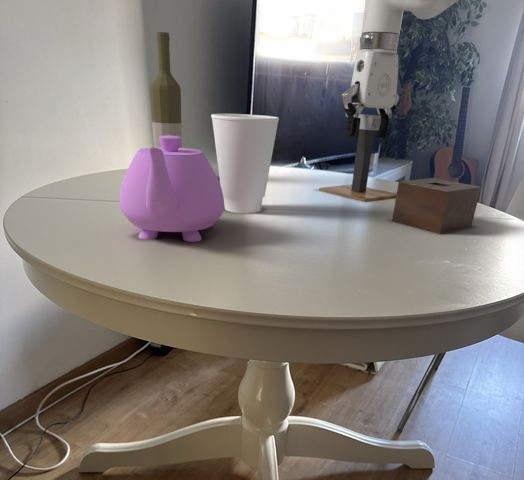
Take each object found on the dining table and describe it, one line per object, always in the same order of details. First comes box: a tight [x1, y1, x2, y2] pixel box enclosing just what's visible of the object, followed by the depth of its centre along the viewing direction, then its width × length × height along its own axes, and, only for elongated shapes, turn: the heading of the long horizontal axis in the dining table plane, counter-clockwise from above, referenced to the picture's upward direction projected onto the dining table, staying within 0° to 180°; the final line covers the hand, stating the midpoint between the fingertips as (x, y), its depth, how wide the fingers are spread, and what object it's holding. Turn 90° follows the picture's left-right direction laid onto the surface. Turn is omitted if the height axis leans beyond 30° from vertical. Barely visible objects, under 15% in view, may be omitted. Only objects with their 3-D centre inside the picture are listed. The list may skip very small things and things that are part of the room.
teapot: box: [119, 135, 225, 242], centre depth 70 cm, size 22×16×14 cm
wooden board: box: [318, 184, 397, 203], centre depth 111 cm, size 12×14×1 cm
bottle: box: [149, 31, 183, 148], centre depth 110 cm, size 7×7×30 cm
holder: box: [391, 177, 482, 235], centre depth 86 cm, size 10×10×7 cm
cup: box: [210, 113, 280, 214], centre depth 87 cm, size 12×12×16 cm
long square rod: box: [351, 113, 381, 192], centre depth 107 cm, size 3×5×16 cm, turn 38°
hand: (366, 137), depth 105 cm, fingers open, 9 cm apart
